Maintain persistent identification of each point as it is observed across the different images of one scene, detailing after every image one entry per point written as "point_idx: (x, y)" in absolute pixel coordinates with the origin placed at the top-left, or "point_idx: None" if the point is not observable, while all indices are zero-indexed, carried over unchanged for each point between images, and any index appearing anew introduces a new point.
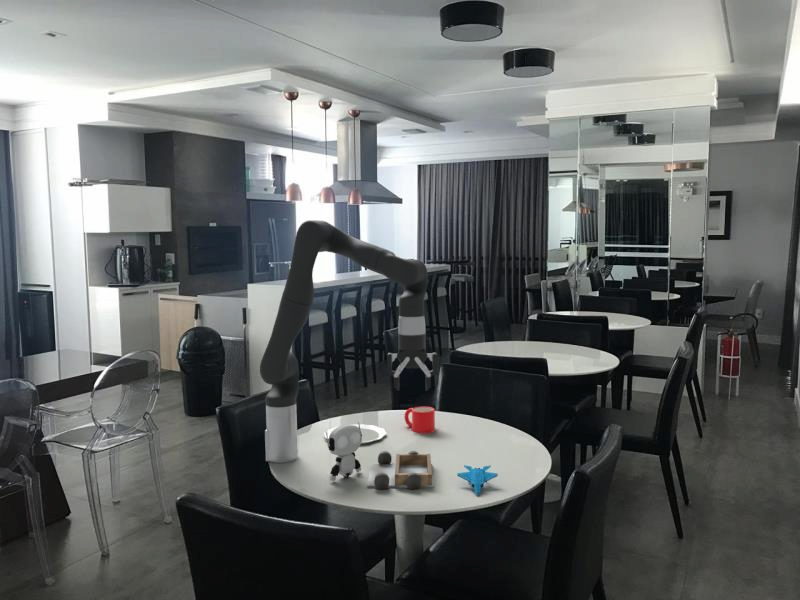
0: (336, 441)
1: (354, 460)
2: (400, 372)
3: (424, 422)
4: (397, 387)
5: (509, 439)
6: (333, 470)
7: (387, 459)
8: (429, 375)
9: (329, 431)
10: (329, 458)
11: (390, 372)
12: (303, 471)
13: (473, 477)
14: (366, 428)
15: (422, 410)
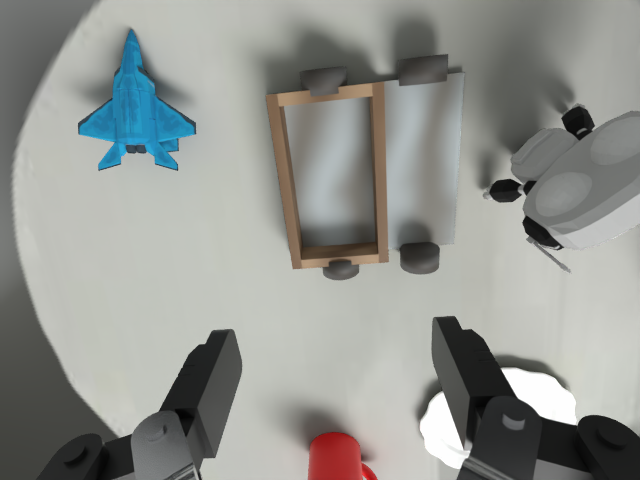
0: None
1: (523, 168)
2: (472, 450)
3: (330, 460)
4: (453, 327)
5: (141, 413)
6: (587, 114)
7: (411, 249)
8: (147, 425)
9: None
10: (565, 286)
11: (603, 448)
12: None
13: (141, 99)
14: (467, 456)
15: None
